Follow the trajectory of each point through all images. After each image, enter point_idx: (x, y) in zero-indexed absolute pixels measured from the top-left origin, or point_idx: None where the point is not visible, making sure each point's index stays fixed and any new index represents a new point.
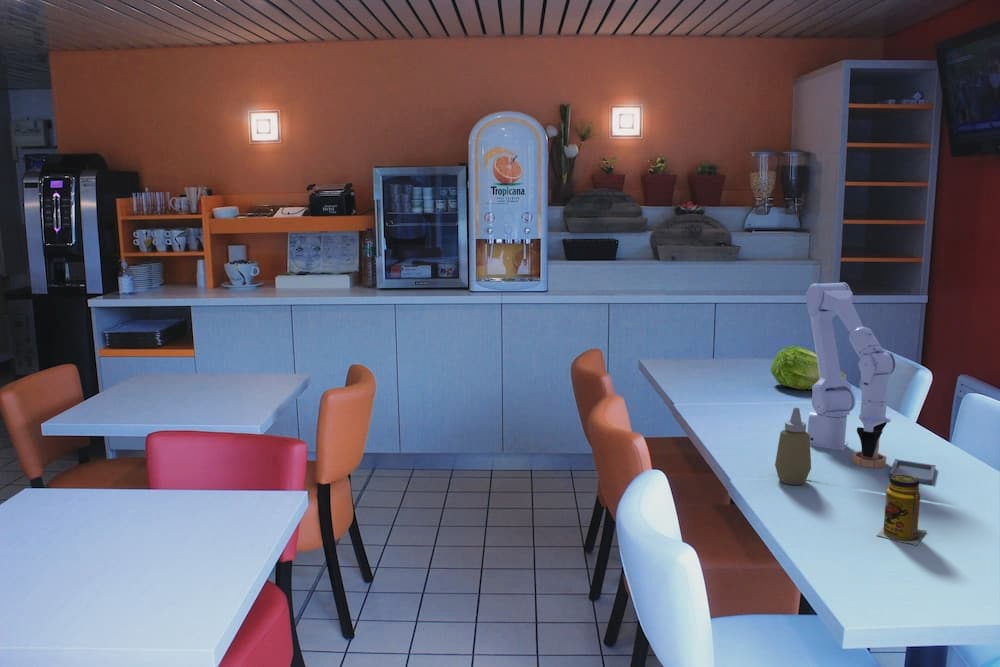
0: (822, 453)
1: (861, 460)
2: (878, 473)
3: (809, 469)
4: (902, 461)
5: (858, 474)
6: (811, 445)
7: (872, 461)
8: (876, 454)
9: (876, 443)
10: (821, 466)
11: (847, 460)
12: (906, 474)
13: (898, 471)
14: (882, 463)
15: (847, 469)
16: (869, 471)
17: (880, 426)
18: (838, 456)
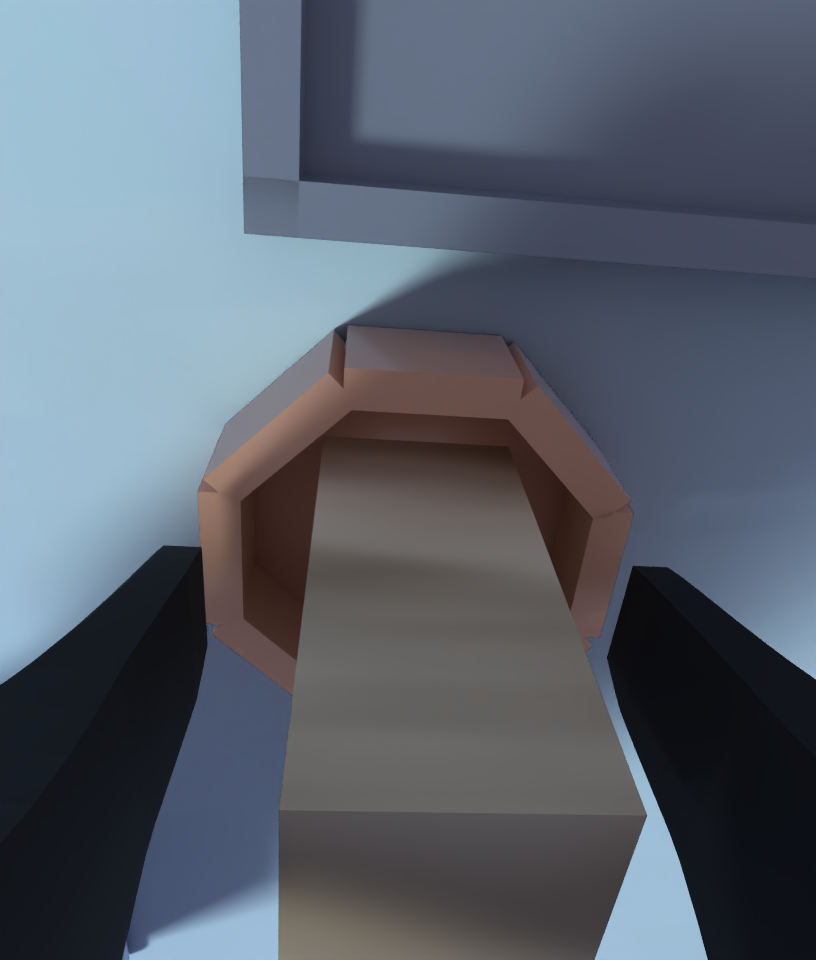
0: (259, 857)
1: (595, 626)
2: (712, 394)
3: None
4: (297, 105)
5: (799, 571)
6: (126, 948)
7: (625, 524)
8: (538, 532)
9: (755, 696)
10: (645, 824)
11: None
12: (795, 29)
13: (681, 158)
14: (548, 395)
15: None
16: (665, 485)
17: (32, 896)
18: (274, 758)
